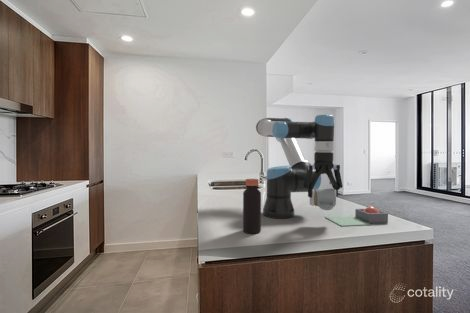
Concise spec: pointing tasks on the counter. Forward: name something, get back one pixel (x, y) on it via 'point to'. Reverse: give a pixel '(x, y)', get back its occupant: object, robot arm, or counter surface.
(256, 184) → the bottle
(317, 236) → the counter surface
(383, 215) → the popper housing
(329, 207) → the ceramic mug
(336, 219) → the sage square
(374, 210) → the red dome
